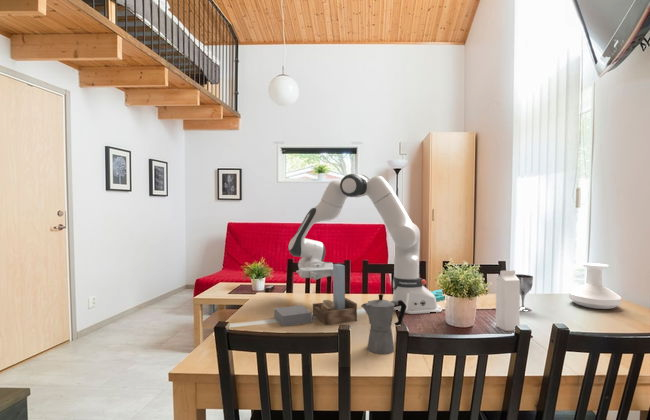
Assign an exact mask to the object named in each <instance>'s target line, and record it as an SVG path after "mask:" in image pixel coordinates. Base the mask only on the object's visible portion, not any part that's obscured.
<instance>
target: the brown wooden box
mask: <svg viewBox="0 0 650 420" xmlns="http://www.w3.org/2000/svg"><path fill="white" fill-rule="evenodd" d="M331 301H332V300H331ZM332 302H333V301H332ZM321 305H323V302H317V303H312V317H315V318H316V319H317V320H318V321H320V322H321V323H322V324H324V325H325V326H327V325H336V324H343V323H350V322H357V320H358V318H357V317H358V314H357V313H358V303H356V302H354V301H353V300H351V299H349V298H347V297H345V309H341V310H333V311H325V312H324V311H323V310H321Z"/></svg>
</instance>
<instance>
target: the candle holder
mask: <svg viewBox="0 0 650 420" xmlns="http://www.w3.org/2000/svg"><path fill="white" fill-rule="evenodd" d="M580 265H582V266H583V267H585V268H586V270H587V273H586V274H587V276H586V277H587V279H586V280H587V281H586V283H585V284H582V285H579V286H577V287H575V288H573V289H572V290H570V291H569V292H568V297H569V299H570V300H571V301H572V302H574V303H575V304H576V305H579V306H580V307H581V306H582V307H585V308H589V309H597V310H610V309H615V308H617V307H618V306H620V305H622V296H620V295H619V294H618V293H616V292H615V291H612V290H611V289H610V288H608V287H606V286H604V285H603V270H604V269H606V268H607V267H609V264H605V263H597V262H596V263H595V262H581V263H580Z"/></svg>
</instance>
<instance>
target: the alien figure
mask: <svg viewBox="0 0 650 420" xmlns="http://www.w3.org/2000/svg"><path fill="white" fill-rule="evenodd" d="M442 290H443V289H436V290H435V289H434V290H433V291H430V290H429V291H430V292H431V293H433V294H434V296H435V298H436V302H441V301H444V300H446V299H445V296H443V292H442Z"/></svg>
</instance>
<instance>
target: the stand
mask: <svg viewBox="0 0 650 420" xmlns="http://www.w3.org/2000/svg"><path fill="white" fill-rule="evenodd" d="M312 318H313V311H312V312H311V311H310V310H309V309H308V308H306V307H305V306H303V304H301V305H293V306H292V305H291V306H284V307H274V319H275V320H276V321H277V322H278V323H279V324H280V325H281V327H288V326H289V327H290V326H295V325H303V324H309V323H310V324H311V323H312V322H313V321H312V320H313V319H312Z"/></svg>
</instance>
